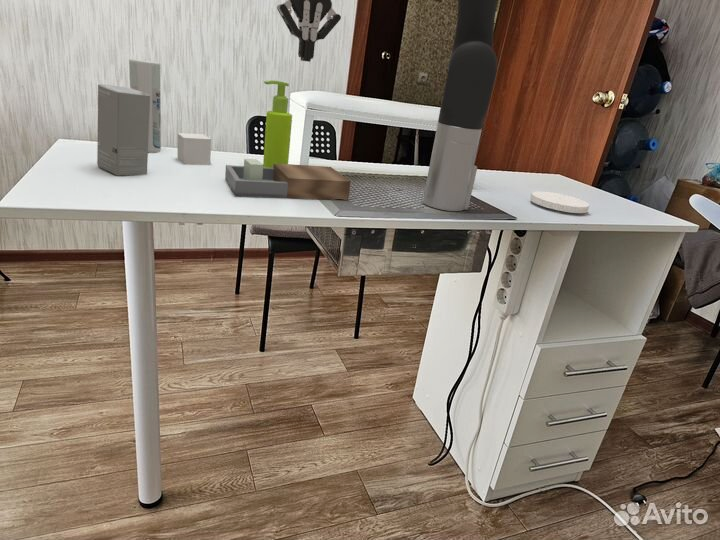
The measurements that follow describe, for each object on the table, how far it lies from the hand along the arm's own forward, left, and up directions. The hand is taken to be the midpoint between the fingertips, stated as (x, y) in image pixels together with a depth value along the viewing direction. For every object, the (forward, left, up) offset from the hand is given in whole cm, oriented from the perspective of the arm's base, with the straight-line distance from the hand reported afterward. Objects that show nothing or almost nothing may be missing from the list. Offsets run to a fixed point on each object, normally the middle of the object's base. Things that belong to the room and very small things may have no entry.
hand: (305, 61), depth 101 cm
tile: (+9, +7, -22) cm, 25 cm away
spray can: (+30, -26, -25) cm, 47 cm away
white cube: (+20, -16, -26) cm, 36 cm away
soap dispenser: (+2, -13, -25) cm, 29 cm away
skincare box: (+34, -4, -25) cm, 43 cm away
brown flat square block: (-2, +6, -25) cm, 26 cm away
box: (+10, +6, -25) cm, 28 cm away
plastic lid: (-65, +12, -26) cm, 71 cm away
